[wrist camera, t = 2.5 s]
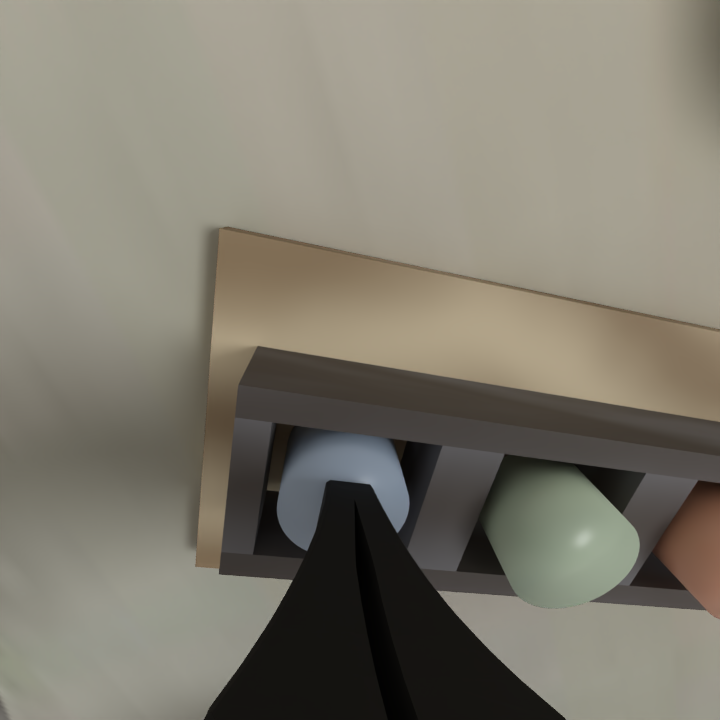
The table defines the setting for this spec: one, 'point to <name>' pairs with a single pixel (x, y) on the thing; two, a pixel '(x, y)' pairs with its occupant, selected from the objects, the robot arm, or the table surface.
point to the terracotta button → (696, 545)
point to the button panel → (445, 404)
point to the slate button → (336, 477)
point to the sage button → (556, 533)
